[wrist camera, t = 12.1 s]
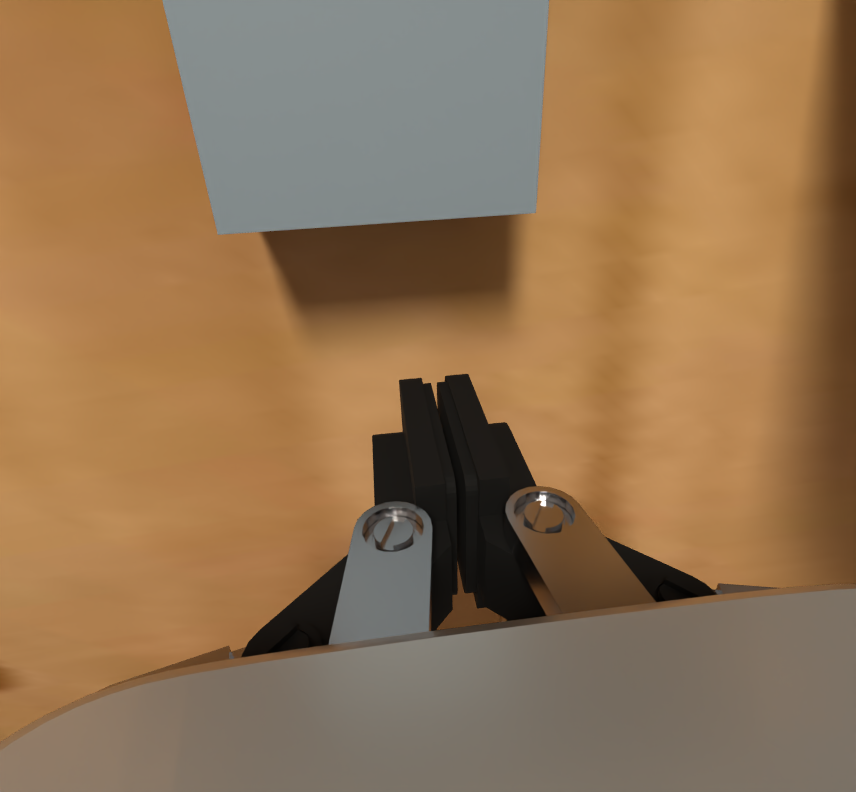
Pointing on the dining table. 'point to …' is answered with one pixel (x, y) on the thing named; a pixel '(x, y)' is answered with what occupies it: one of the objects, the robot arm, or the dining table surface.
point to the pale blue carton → (362, 108)
